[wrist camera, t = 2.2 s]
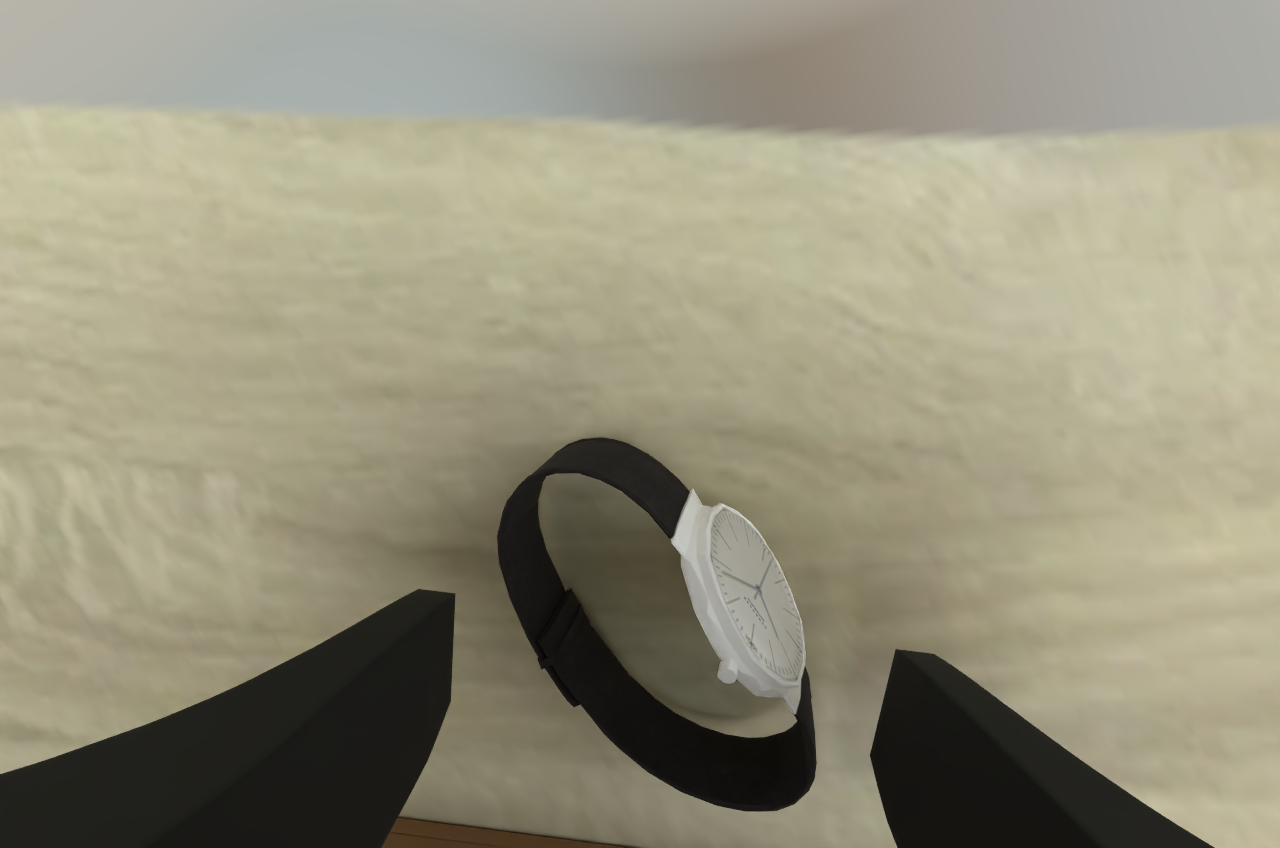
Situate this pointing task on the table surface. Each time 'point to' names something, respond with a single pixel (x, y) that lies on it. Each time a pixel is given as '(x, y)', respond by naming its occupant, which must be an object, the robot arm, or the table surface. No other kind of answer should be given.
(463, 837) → the carton
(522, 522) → the watch
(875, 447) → the table surface
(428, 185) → the table surface
